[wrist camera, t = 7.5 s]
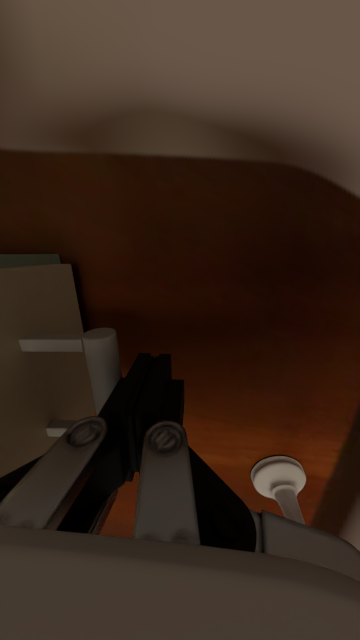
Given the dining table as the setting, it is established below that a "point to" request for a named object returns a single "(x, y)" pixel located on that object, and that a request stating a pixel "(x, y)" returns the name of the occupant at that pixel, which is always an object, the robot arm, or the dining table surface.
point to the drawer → (47, 362)
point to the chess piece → (280, 483)
